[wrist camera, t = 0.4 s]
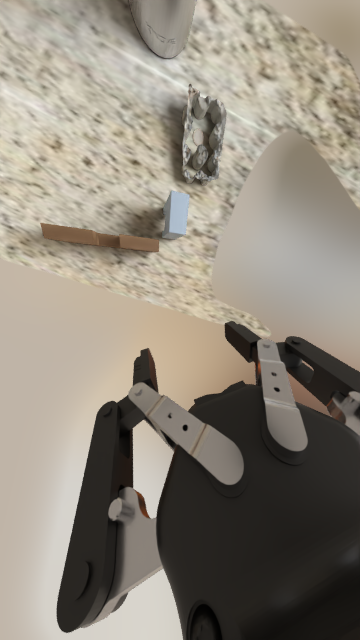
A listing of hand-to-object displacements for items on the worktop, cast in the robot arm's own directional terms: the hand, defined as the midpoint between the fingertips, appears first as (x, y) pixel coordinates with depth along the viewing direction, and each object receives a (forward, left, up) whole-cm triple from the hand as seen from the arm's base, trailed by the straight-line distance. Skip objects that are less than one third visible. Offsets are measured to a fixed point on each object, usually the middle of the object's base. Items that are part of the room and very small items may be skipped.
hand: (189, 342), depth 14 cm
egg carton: (-27, +7, -26) cm, 39 cm away
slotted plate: (-9, -10, -26) cm, 29 cm away
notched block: (-14, +2, -26) cm, 30 cm away
